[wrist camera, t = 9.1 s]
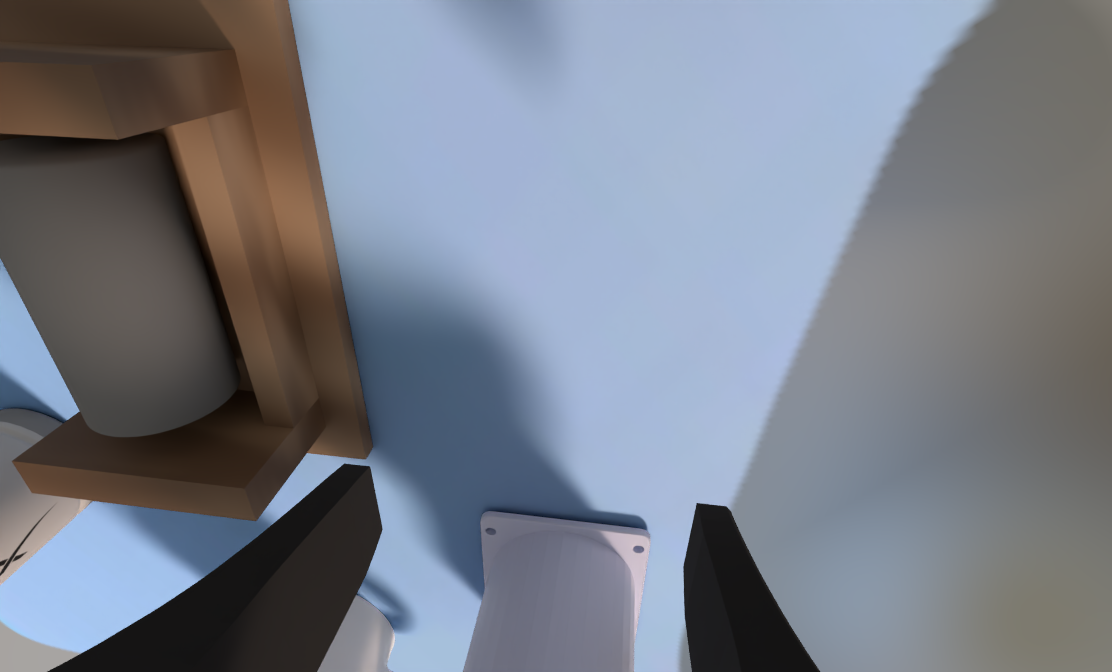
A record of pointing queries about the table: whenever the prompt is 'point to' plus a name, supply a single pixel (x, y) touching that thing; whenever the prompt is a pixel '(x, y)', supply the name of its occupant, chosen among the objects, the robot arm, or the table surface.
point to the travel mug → (26, 493)
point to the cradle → (203, 236)
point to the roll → (115, 280)
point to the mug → (360, 641)
